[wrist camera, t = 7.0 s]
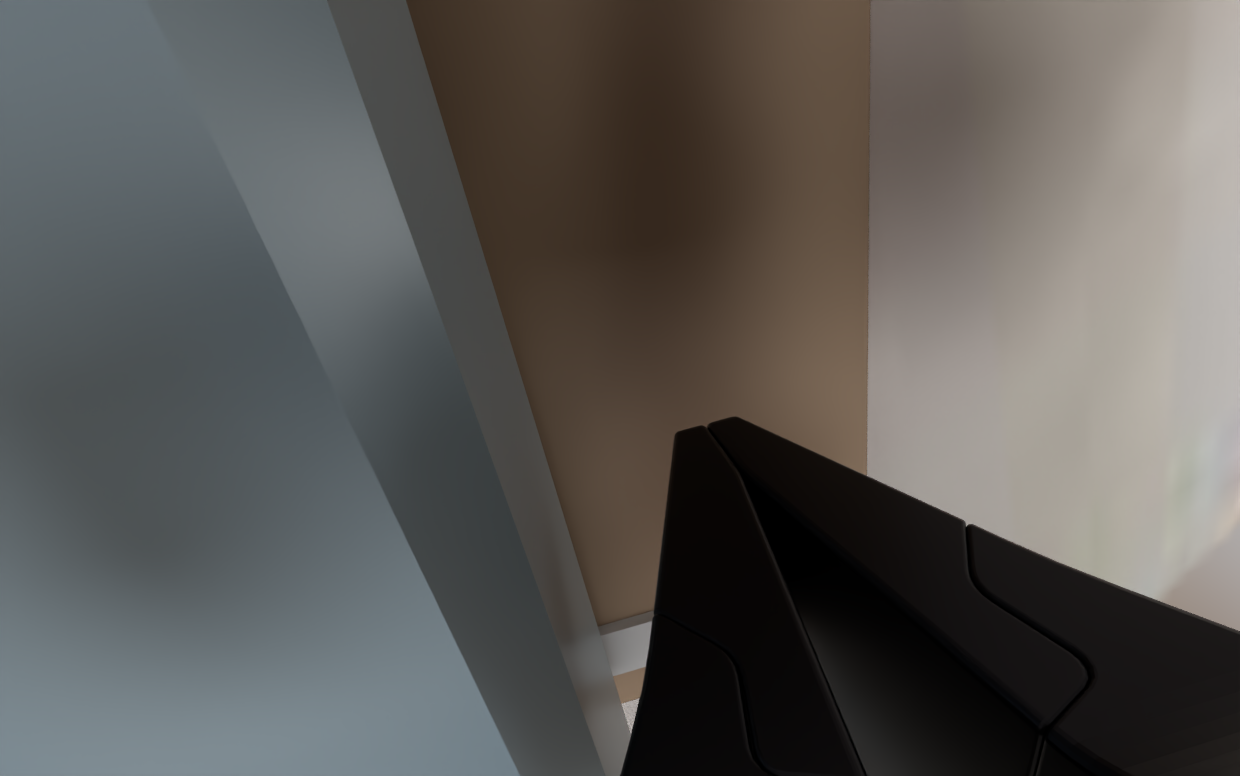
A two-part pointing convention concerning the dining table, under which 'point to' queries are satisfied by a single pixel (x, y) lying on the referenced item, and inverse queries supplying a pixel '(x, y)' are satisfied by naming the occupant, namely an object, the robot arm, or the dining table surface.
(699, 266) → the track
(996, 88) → the dining table surface
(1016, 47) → the dining table surface
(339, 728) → the box
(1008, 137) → the dining table surface
